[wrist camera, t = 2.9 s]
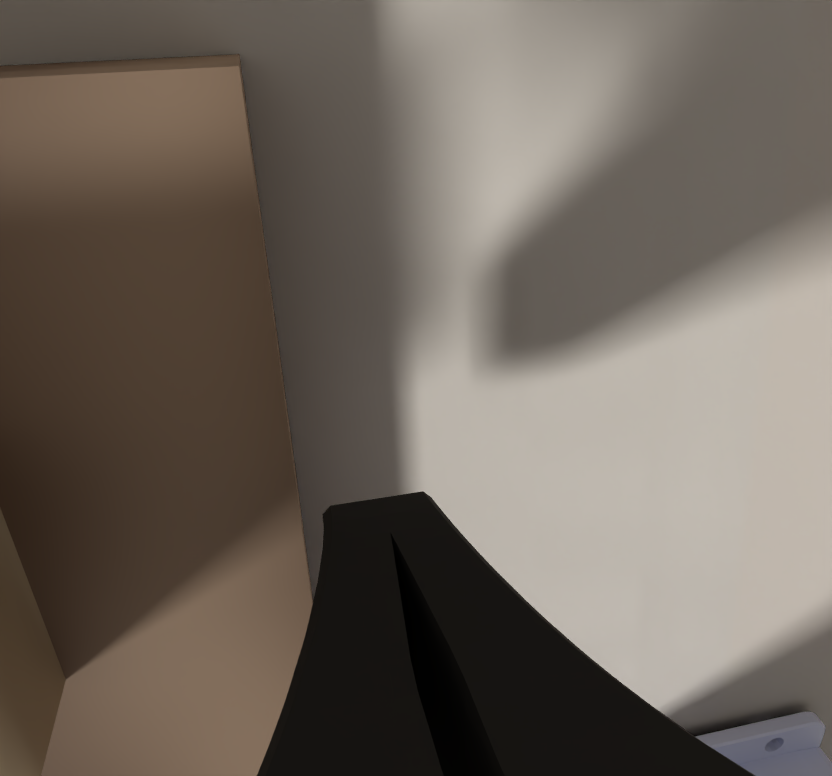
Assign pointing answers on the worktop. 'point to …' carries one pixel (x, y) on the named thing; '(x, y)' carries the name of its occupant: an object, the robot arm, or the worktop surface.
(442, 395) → the worktop surface
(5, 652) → the maple block
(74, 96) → the trap deck
